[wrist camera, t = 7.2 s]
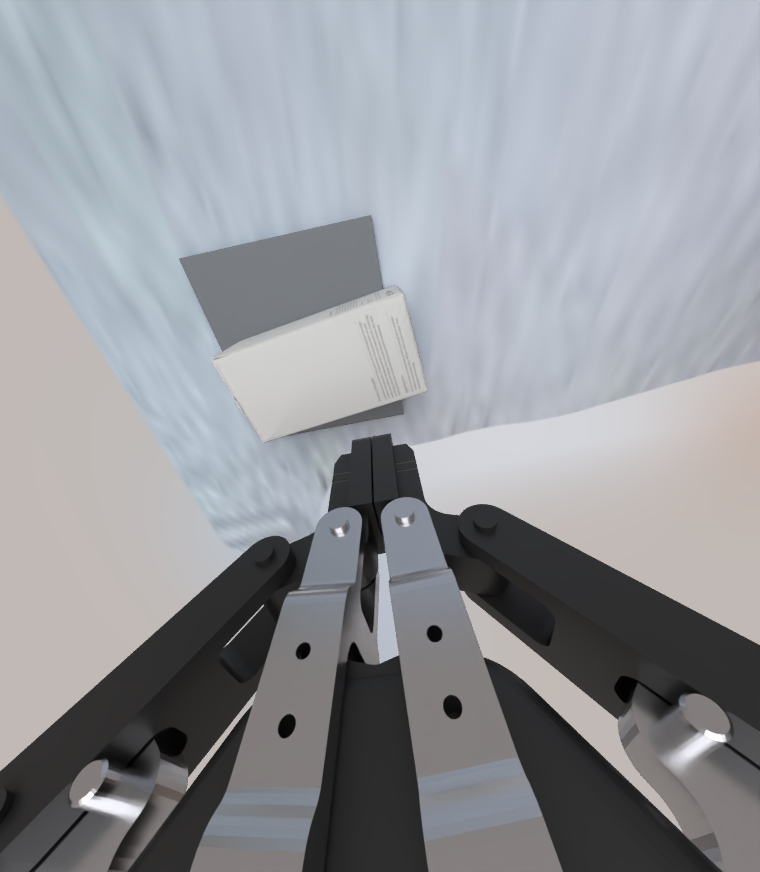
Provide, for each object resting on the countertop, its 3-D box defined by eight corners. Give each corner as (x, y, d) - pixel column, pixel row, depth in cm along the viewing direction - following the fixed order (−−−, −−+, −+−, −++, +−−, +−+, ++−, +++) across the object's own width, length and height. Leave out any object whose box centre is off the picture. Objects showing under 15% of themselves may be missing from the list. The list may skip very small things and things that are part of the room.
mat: (370, 215, 24) (370, 215, 24) (402, 411, 34) (403, 413, 33) (182, 258, 25) (179, 258, 25) (265, 437, 35) (263, 440, 34)
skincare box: (398, 282, 26) (237, 335, 28) (406, 291, 21) (204, 356, 23) (419, 371, 31) (277, 411, 33) (430, 398, 25) (258, 445, 27)
